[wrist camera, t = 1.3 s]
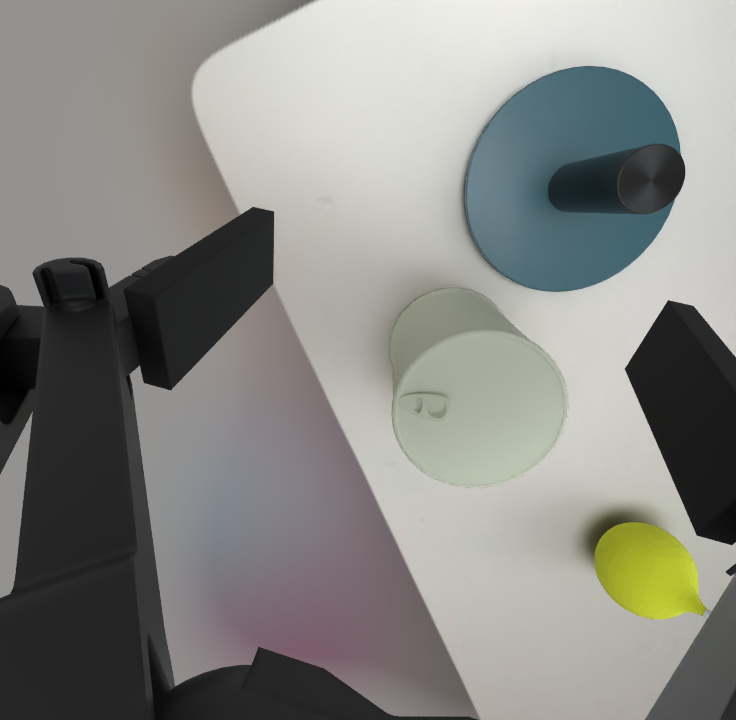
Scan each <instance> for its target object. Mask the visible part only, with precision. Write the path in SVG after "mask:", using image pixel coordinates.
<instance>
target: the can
mask: <svg viewBox="0 0 736 720" xmlns="http://www.w3.org/2000/svg"><path fill="white" fill-rule="evenodd" d="M390 358H391V363H392V366H393V403H392V423H393V429H394V432H395V436H396V439H397V441H398V443H399V445H400V447H401V449H402V450H403V452H404V453H405V455H406V456H407V457H408V459H409V460H410V461H411V462H412V463H413V464H414V465H415V466H416V467H417V468H419V469H420V470H421V471H422V472H424V473H425V474H427V475H429V476H430V477H432V478H434V479H436V480H438V481H441V482H444V483H447V484H450V485H455V486H459V487H469V488H482V487H490V486H496V485H500V484H503V483H507V482H510V481H512V480H515V479H517V478H519V477H521V476H523V475H525V474H526V473H528V472H529V471H531V470H532V469H534V468H535V467H536V466H538V465H539V464H540V463H541V462H542V461H543V460H544V459H545V458H546V457H547V456H548V455H549V454H550V453H551V452H552V450H553V449H554V447H555V446H556V444H557V443H558V441H559V439H560V437H561V435H562V433H563V431H564V428H565V425H566V421H567V417H568V408H569V399H568V391H567V386H566V383H565V380H564V378H563V375H562V373H561V371H560V369H559V368H558V366H557V364H556V363H555V362H554V360H553V359H552V358H551V357H550V356H549V355H548V354H547V353H546V352H545V351H544V350H543V349H542V348H541V347H539V346H538V345H536V344H535V343H533V342H532V341H530V340H529V339H528V338H527V337H526V336H525V335H523V334H522V333H521V332H520V331H519V330H518V329H517V328H516V327H515V326H514V325H513V324H512V323H510V322H509V321H508V320H507V319H506V318H505V317H504V315H503V314H502V312H501V311H500V309H499V308H498V307H497V306H496V305H495V304H494V303H493V302H492V301H491V300H489V299H488V298H486V297H485V296H483V295H481V294H479V293H477V292H474V291H471V290H467V289H462V288H444V289H439V290H435V291H432V292H429V293H427V294H425V295H423V296H421V297H419V298H418V299H416V300H415V301H413V302H412V303H411V304H410V305H409V306H408V307H407V308H406V309H405V310H404V311H403V312H402V313H401V315H400V316H399V318H398V319H397V321H396V323H395V325H394V328H393V330H392V334H391V338H390Z"/></svg>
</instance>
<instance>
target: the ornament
mask: <svg viewBox="0 0 736 720" xmlns="http://www.w3.org/2000/svg"><path fill="white" fill-rule="evenodd" d="M594 562H595V569H596V573H597V576H598V579H599V581H600V583H601V585H602V586H603V588H604V589H605V590H606V592H607V593H608V595H609V596H610V597H611V598H612V599H613V600H614V601H615V602H616V603H618V604H619V605H620V606H621V607H623V608H624V609H626V610H628V611H630V612H632V613H634V614H636V615H638V616H641V617H645V618H650V619H668V618H672V617H675V616H677V615H680V614H682V613H685V612H692V613H697V614H699V615H702V616H703V617H704V618H706V619H708V617H709V616H710V614H711V611H710V610H708V609H707V608H706V607H705V606H704V605H703V604H702V602H701V600H700V598H699V595H698V575H697V569H696V565H695V562H694V561H693V559H692V557H691V555H690V553H689V552H688V551H687V549H686V548H685V547H684V546H683V545H682V544H681V543H680V542H679V541H678V540H677V539H676V538H675V537H674V536H672V535H671V534H670V533H668V532H666V531H665V530H663V529H661V528H659V527H657V526H654V525H650V524H646V523H640V522H628V523H623V524H618V525H616V526H614V527H613V528H611V529H609V530H608V531H607V532H606V533H604V535H603V536H602V537H601V539H600V540H599V542H598V545H597V547H596V551H595V558H594Z"/></svg>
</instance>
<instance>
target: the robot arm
mask: <svg viewBox="0 0 736 720" xmlns="http://www.w3.org/2000/svg"><path fill="white" fill-rule="evenodd" d="M273 259H274V212H273V211H269V210H265V209H260V208H256V207H252V208H251V209H249V210H248V211H246V212H244V213H243V214H241V215H240V216H238V217H236V218H235V219H233V220H232V221H230V222H229V223H227V224H225V225H224V226H222V227H221V228H219V229H217V230H216V231H214V232H213V233H211V234H210V235H208V236H206V237H205V238H203V239H202V240H200V241H198V242H197V243H195V244H194V245H192V246H191V247H189V248H187V249H186V250H184V251H183V252H181V253H179V254H178V255H176V256H168V257H165V258H161V259H158V260H155V261H153V262H151V263H149V264H148V265H146V266H144V267H143V268H142V270H138V271H136V272H134V273H133V274H132V276H128V277H126V278H124V279H123V280H121V281H119V282H118V283H116V284H114V285H113V286H111V287H110V288H108V284H107V280H106V275H105V271H104V268H103V266H102V265H101V263H99V262H97V261H95V260H91V259H86V258H63V259H56V260H52V261H49V262H45V263H43V264H42V265H40V266H38V267H36V268H35V270H34V271H33V276H34V279H35V282H36V285H37V288H38V291H39V293H40V296H41V299H42V302H43V305H44V307H41V306H23V305H17V304H16V302H15V299H14V297H13V295H12V292H11V291H10V290H9V288H7V287H4V286H2V285H0V474H1V472H2V470H3V468H4V466H5V464H6V462H7V460H8V458H9V456H10V454H11V452H12V450H13V448H14V446H15V444H16V442H17V441H18V439H19V437H20V435H21V433H22V431H23V429H24V427H25V425H26V423H27V421H28V419H29V417H30V415H31V413H32V411H33V415H32V425H31V434H30V444H29V453H28V462H27V472H26V481H25V491H24V500H23V509H22V519H21V528H20V537H19V547H18V558H17V566H16V575H15V582H14V587H13V589H12V591H11V593H10V594H9V595H7V596H4V597H2V598H0V720H476V719H474V718H471V717H399V716H393V715H390V714H388V713H386V712H384V711H383V710H382V709H380V708H379V707H377V706H376V705H374V704H373V703H372V702H370V701H369V700H368V699H366V698H365V697H363V696H362V695H360V694H359V693H358V692H356V691H355V690H354V689H352V688H351V687H349V686H348V685H346V684H345V683H344V682H342V681H341V680H339V679H338V678H337V677H335V676H334V675H332V674H331V673H329V672H328V671H327V670H325V669H324V668H320V667H318V666H315V665H311V664H309V663H305V662H303V661H299V660H297V659H294V658H290V657H287V656H284V655H281V654H278V653H275V652H272V651H269V650H266V649H263V648H260V647H258V650H257V653H256V655H255V658H254V660H253V663H252V665H237V666H230V667H223V668H219V669H216V670H212V671H209V672H205V673H202V674H200V675H198V676H195V677H193V678H191V679H188V680H186V681H184V682H182V683H181V684H179V685H177V686H175V684H174V678H173V671H172V665H171V660H170V655H169V650H168V646H167V640H166V635H165V628H164V622H163V614H162V607H161V599H160V591H159V584H158V576H157V570H156V561H155V554H154V547H153V539H152V531H151V524H150V516H149V509H148V502H147V494H146V486H145V479H144V471H143V464H142V456H141V449H140V442H139V434H138V427H137V419H136V412H135V405H134V397H133V389H132V383H131V379H130V375H129V374H130V373H131V372H132V371H134V370H135V369H136V368H137V367H138V366H139V365H140V367H141V372H142V377H143V381H144V383H146V384H150V385H154V386H157V387H161V388H165V389H168V390H172V388H173V387H174V386H175V385H176V384H177V383H178V382H179V381H180V380H181V379H182V378H183V377H184V376H185V375H186V374H187V373H188V372H189V371H190V370H191V369H192V368H193V366H195V365H196V363H197V362H198V361H199V360H200V359H201V358H202V357H203V356H204V355H205V354H206V353H207V352H208V351H209V350H210V349H211V348H212V347H213V346H214V345H215V344H216V343H217V342H218V340H220V338H221V337H222V336H223V335H224V334H225V333H226V332H227V331H228V330H229V329H230V328H231V327H232V326H233V325H234V324H235V323H236V322H237V321H238V319H240V318H241V317H242V316H243V314H244V313H245V312H246V311H247V310H248V309H249V308H250V307H251V306H252V305H253V304H254V303H255V302H256V301H257V300H258V299H259V298H260V297H261V296H262V295H263V294H264V292H266V290H267V289H268V288H269V287H270V286H271V285H272V284H273ZM625 370H626V373H627V375H628V377H629V380H630V382H631V384H632V387H633V389H634V391H635V394H636V396H637V398H638V401H639V403H640V405H641V407H642V410H643V412H644V414H645V417H646V419H647V421H648V424H649V426H650V428H651V431H652V433H653V435H654V438H655V440H656V442H657V444H658V447H659V449H660V451H661V454H662V456H663V458H664V461H665V463H666V465H667V468H668V470H669V472H670V474H671V477H672V479H673V481H674V484H675V486H676V488H677V491H678V493H679V495H680V498H681V500H682V502H683V505H684V507H685V509H686V511H687V514H688V516H689V518H690V521H691V523H692V525H693V528H694V530H695V532H696V535H697V536H701V537H704V538H708V539H712V540H715V541H719V542H722V543H726V544H730V545H733V544H734V543H735V542H736V357H735V356H734V355H733V354H732V352H731V351H730V350H729V349H728V348H727V346H726V345H725V344H724V343H723V341H722V340H721V339H720V338H719V337H718V335H717V334H716V333H715V332H714V330H713V329H712V328H711V327H710V326H709V324H708V323H707V322H706V321H705V319H704V318H703V317H702V316H701V315H700V313H699V312H698V311H697V310H696V308H695V307H694V306H691V305H687V304H682V303H678V302H673V301H669V300H668V301H667V303H666V305H665V306H664V308H663V309H662V311H661V313H660V314H659V316H658V317H657V319H656V320H655V322H654V324H653V325H652V327H651V328H650V330H649V331H648V333H647V335H646V336H645V338H644V339H643V341H642V343H641V344H640V346H639V347H638V349H637V350H636V352H635V354H634V355H633V357H632V358H631V360H630V361H629V363H628V365H627V366H626V368H625ZM726 573H727V574H728V575H730V576H732V575H733V574H735V573H736V564H735V565H733V566H732V567H731V568H730V569H728V570H727V571H726ZM645 720H736V574H735V575H734V577H733V578H732V580H731V582H730V583H729V585H728V587H727V588H726V590H725V591H724V593H723V595H722V596H721V598H720V599H719V601H718V603H717V604H716V606H715V608H714V609H713V611H712V612H711V614H710V616H709V617H708V619H707V620H706V622H705V624H704V625H703V627H702V628H701V630H700V632H699V633H698V635H697V637H696V638H695V640H694V641H693V643H692V645H691V646H690V648H689V649H688V651H687V653H686V654H685V656H684V658H683V659H682V661H681V662H680V664H679V666H678V667H677V669H676V670H675V672H674V674H673V675H672V677H671V679H670V680H669V682H668V683H667V685H666V687H665V688H664V690H663V691H662V693H661V695H660V696H659V698H658V700H657V701H656V703H655V704H654V706H653V708H652V709H651V711H650V712H649V714H648V716H647V717H646V719H645Z"/></svg>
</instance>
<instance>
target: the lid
mask: <svg viewBox="0 0 736 720" xmlns="http://www.w3.org/2000/svg"><path fill="white" fill-rule="evenodd" d="M684 179H685V165H684V161H683V159H682V157H681V153H680V143H679V139H678V135H677V131H676V127H675V125H674V122H673V120H672V117H671V115H670V113H669V112H668V110H667V108H666V107H665V105H664V103H663V102H662V101H661V100H660V98H659V97H658V96H657V95H656V94H655V93H654V92H653V91H652V90H651V89H650V88H649V87H648V86H646V85H645V84H644V83H643V82H641V81H639V80H638V79H636V78H634V77H633V76H631V75H629V74H626V73H624V72H621V71H619V70H615V69H610V68H606V67H595V66H584V67H573V68H569V69H564V70H560V71H557V72H554V73H552V74H549V75H546V76H544V77H542V78H540V79H538V80H536V81H534V82H533V83H531V84H529V85H528V86H526V87H525V88H523V89H522V90H521V91H519V92H518V93H516V94H515V95H514V96H513V97H512V98H511V99H510V100H509V101H508V102H506V103H505V104H504V105H503V106H502V107H501V108H500V109H499V111H498V112H497V113H496V114H495V115H494V116H493V118H492V119H491V120H490V122H489V123H488V125H487V126H486V128H485V129H484V131H483V132H482V134H481V136H480V138H479V140H478V142H477V144H476V146H475V148H474V151H473V154H472V156H471V159H470V163H469V167H468V171H467V175H466V182H465V210H466V217H467V221H468V225H469V229H470V232H471V234H472V237H473V239H474V242H475V243H476V245H477V247H478V248H479V250H480V252H481V253H482V255H483V256H484V257H485V258H486V260H487V261H488V262H489V263H490V264H491V265H492V266H493V267H494V268H495V269H496V270H497V271H498V272H500V273H501V274H503V275H504V276H505V277H507V278H509V279H510V280H512V281H514V282H516V283H518V284H520V285H523V286H526V287H529V288H532V289H537V290H542V291H553V292H560V291H572V290H577V289H582V288H585V287H589V286H592V285H595V284H597V283H600V282H602V281H604V280H606V279H608V278H610V277H612V276H613V275H615V274H617V273H619V272H620V271H622V270H623V269H624V268H626V267H627V266H628V265H630V264H631V263H632V262H633V261H634V260H636V259H637V258H638V257H639V256H640V255H641V254H642V253H643V252H644V251H645V250H646V248H647V247H648V246H649V245H650V244H651V243H652V242H653V240H654V239H655V237H656V236H657V234H658V233H659V232H660V230H661V228H662V227H663V225H664V223H665V221H666V219H667V217H668V216H669V213H670V211H671V208H672V206H673V203H674V200H675V198H676V196H677V195H678V194H679V192H680V190H681V188H682V186H683V183H684Z"/></svg>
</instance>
